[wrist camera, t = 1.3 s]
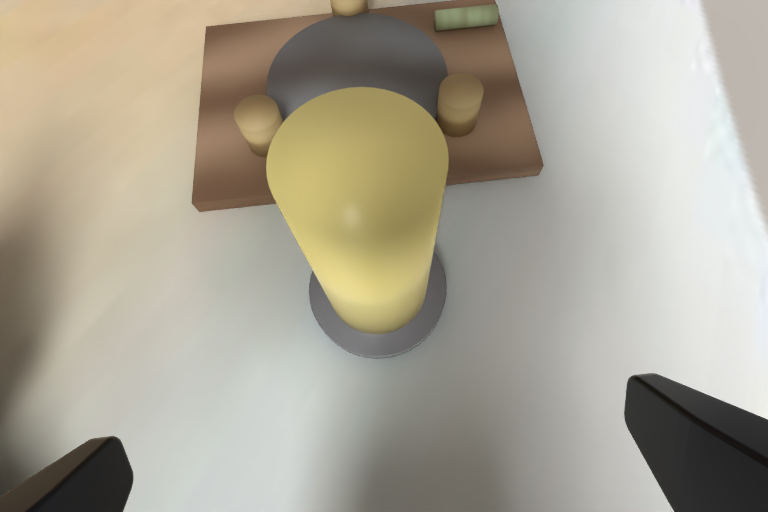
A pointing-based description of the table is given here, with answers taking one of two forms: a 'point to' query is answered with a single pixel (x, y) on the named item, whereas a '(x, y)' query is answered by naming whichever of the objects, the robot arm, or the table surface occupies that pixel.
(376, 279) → the yellow pillar candle
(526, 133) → the board
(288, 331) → the table surface
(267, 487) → the table surface
